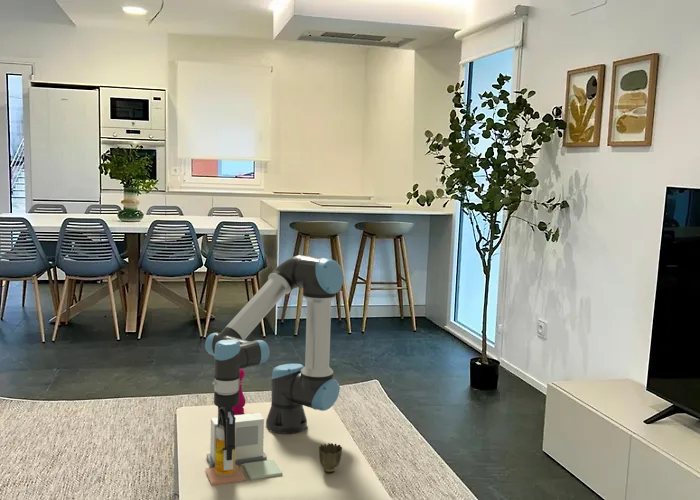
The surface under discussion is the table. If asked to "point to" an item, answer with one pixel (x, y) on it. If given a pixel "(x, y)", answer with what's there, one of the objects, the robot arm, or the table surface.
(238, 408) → the pepper mill
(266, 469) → the sage pad
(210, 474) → the terracotta pad
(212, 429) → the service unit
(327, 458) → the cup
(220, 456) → the beer can
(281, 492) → the table surface
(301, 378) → the robot arm
